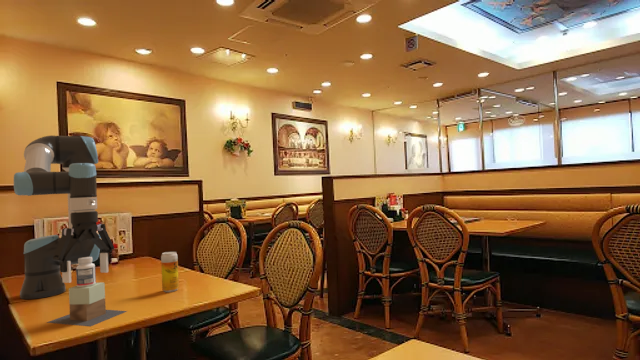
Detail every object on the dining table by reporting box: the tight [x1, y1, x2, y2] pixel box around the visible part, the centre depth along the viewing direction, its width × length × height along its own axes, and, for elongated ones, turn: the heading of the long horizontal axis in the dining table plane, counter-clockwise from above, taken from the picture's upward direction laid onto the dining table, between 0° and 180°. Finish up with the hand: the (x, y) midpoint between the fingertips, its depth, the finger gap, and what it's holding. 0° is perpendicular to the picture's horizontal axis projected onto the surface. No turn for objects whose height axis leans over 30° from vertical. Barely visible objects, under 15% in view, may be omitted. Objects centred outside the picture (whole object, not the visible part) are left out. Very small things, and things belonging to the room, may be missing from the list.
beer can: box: [160, 251, 180, 293], centre depth 155 cm, size 6×6×15 cm
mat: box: [46, 309, 128, 327], centre depth 125 cm, size 18×14×1 cm
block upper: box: [68, 282, 106, 304], centre depth 125 cm, size 7×7×5 cm
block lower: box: [68, 297, 107, 321], centre depth 125 cm, size 7×7×5 cm
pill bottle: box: [75, 257, 97, 287], centre depth 125 cm, size 5×5×9 cm
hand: (86, 277), depth 125 cm, fingers open, 13 cm apart
